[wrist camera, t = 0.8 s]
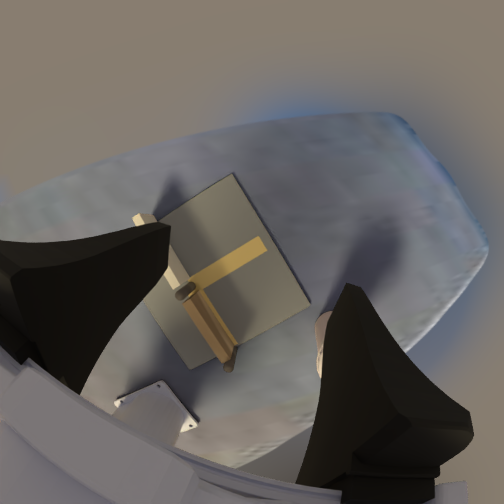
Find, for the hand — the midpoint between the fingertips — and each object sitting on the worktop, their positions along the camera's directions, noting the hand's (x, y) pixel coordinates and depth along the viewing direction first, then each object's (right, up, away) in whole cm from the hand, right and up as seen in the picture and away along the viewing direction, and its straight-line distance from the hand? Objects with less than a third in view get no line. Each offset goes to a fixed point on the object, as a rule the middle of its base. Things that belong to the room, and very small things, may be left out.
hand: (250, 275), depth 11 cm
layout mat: (-5, -2, +20) cm, 21 cm away
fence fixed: (-4, -6, +20) cm, 22 cm away
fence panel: (-9, +1, +19) cm, 21 cm away
